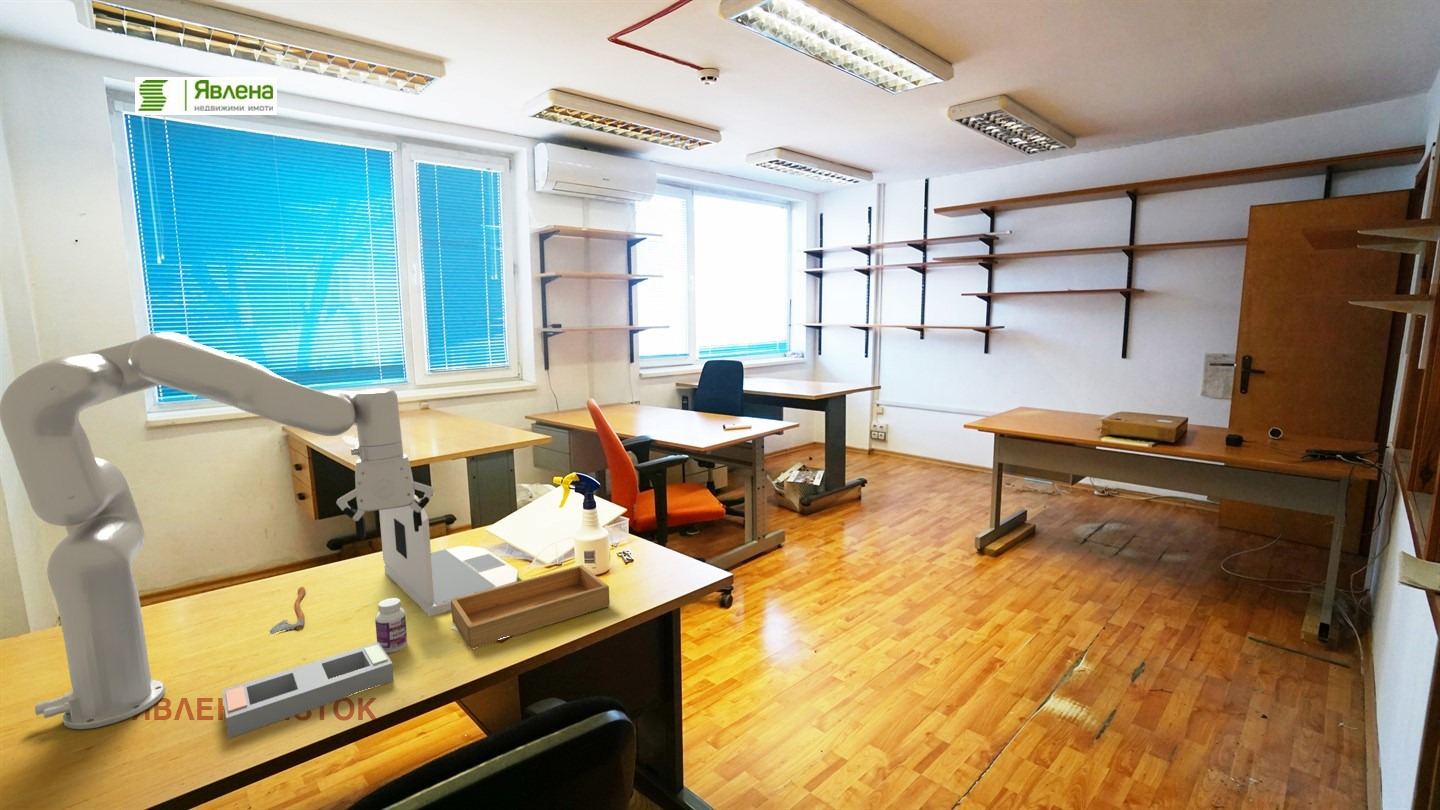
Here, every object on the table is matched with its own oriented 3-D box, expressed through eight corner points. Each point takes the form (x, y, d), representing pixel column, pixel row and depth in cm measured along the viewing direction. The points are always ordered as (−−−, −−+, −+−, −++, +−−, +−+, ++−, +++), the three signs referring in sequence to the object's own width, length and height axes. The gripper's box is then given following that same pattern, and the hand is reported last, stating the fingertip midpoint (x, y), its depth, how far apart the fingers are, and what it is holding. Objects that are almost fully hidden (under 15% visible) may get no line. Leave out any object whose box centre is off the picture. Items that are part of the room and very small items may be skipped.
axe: (273, 597, 150) (273, 590, 150) (306, 592, 153) (305, 585, 153) (267, 638, 131) (266, 631, 131) (304, 631, 134) (304, 624, 134)
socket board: (228, 738, 100) (225, 716, 99) (224, 708, 107) (221, 688, 107) (393, 680, 115) (392, 661, 115) (380, 658, 123) (378, 640, 122)
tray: (470, 651, 126) (468, 625, 125) (452, 622, 138) (450, 597, 137) (610, 609, 144) (609, 585, 143) (582, 586, 156) (582, 564, 155)
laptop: (530, 586, 156) (525, 482, 152) (429, 618, 140) (420, 503, 136) (475, 549, 180) (470, 459, 176) (383, 573, 164) (375, 475, 160)
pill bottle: (395, 655, 124) (391, 609, 122) (371, 652, 125) (367, 607, 123) (413, 641, 129) (410, 597, 127) (390, 639, 130) (387, 595, 129)
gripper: (328, 460, 118) (338, 547, 120) (429, 450, 125) (437, 532, 127) (333, 452, 124) (343, 534, 127) (429, 443, 131) (437, 521, 134)
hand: (390, 533), depth 127 cm, fingers open, 9 cm apart
